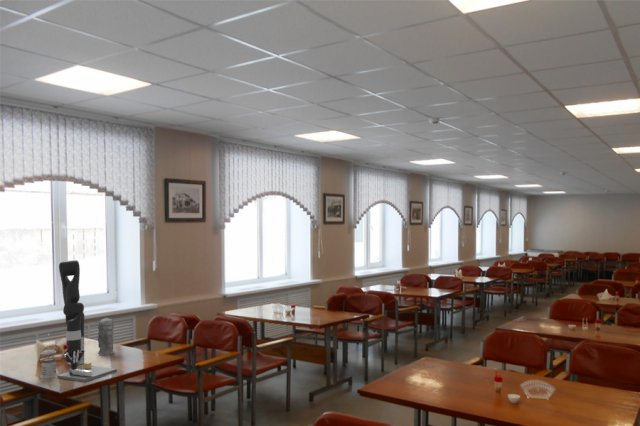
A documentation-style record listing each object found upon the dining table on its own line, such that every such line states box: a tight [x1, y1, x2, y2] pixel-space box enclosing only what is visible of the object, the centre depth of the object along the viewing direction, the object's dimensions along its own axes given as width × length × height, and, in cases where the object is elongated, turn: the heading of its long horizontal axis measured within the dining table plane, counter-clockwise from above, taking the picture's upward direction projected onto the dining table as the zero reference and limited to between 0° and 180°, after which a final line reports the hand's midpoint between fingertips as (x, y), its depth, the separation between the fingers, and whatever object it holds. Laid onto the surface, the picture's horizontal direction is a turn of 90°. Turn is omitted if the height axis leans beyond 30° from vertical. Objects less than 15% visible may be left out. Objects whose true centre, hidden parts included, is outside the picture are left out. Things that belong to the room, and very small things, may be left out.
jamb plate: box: [56, 361, 118, 383], centre depth 300 cm, size 23×23×4 cm
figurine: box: [97, 317, 115, 356], centre depth 353 cm, size 10×14×25 cm
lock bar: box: [68, 367, 92, 376], centre depth 293 cm, size 16×4×2 cm, turn 65°
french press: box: [39, 332, 59, 379], centre depth 301 cm, size 10×12×25 cm
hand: (73, 369), depth 284 cm, fingers closed
